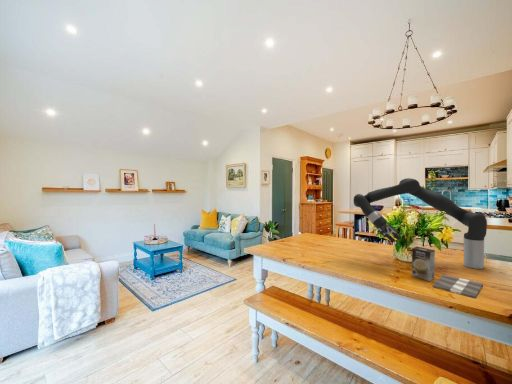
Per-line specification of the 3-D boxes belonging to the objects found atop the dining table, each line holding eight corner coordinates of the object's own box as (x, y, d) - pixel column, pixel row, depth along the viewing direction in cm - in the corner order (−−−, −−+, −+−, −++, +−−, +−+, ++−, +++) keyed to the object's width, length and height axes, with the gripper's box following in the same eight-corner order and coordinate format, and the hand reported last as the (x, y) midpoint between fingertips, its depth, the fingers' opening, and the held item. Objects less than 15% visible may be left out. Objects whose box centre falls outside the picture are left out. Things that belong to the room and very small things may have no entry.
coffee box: (411, 276, 133) (411, 248, 132) (416, 273, 136) (416, 246, 136) (429, 281, 125) (430, 251, 124) (435, 278, 128) (435, 249, 128)
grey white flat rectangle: (443, 276, 131) (443, 274, 131) (482, 285, 119) (482, 283, 119) (432, 286, 119) (432, 284, 119) (475, 298, 106) (475, 296, 106)
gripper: (376, 217, 142) (397, 239, 134) (386, 214, 151) (406, 235, 143) (367, 224, 146) (387, 246, 138) (377, 221, 155) (396, 242, 147)
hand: (396, 240), depth 140 cm, fingers open, 8 cm apart
